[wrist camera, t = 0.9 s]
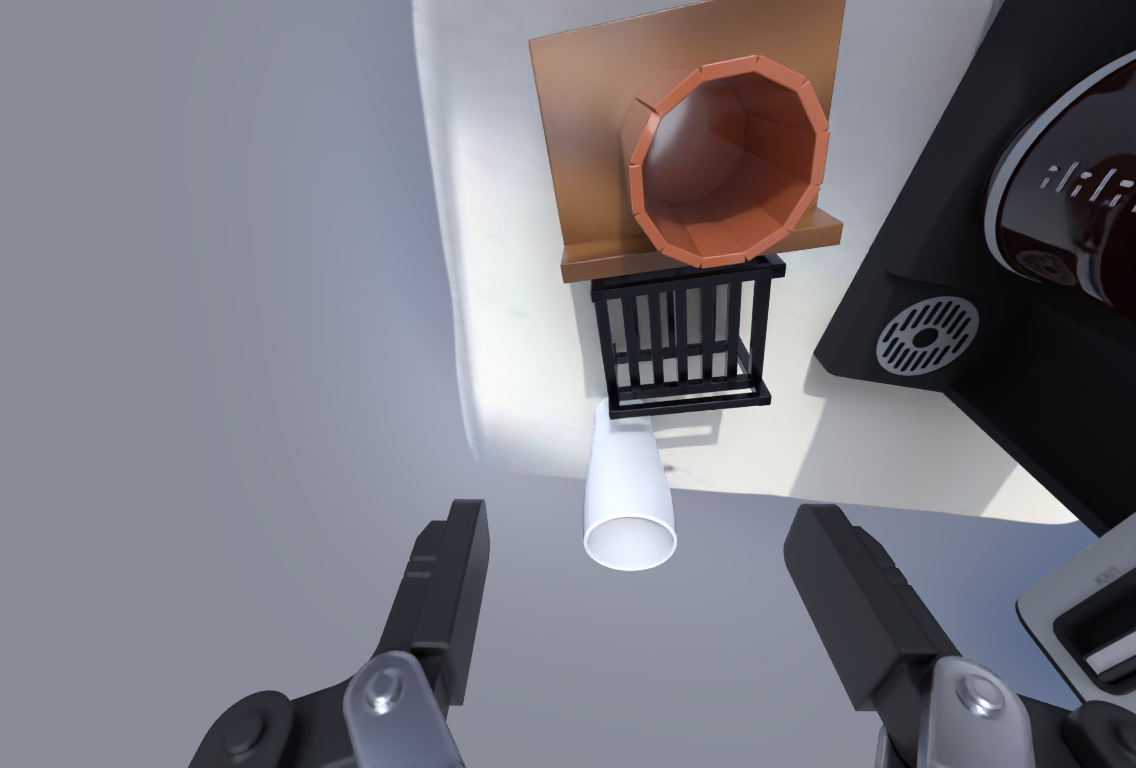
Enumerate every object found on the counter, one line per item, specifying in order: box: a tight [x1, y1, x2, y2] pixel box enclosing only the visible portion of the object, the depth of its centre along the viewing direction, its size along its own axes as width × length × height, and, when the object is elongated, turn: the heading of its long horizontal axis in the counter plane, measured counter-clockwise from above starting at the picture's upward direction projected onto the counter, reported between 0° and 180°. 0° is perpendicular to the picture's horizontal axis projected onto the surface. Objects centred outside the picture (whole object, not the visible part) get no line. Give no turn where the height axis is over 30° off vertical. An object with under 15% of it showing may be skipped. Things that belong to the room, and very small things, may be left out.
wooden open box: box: [528, 0, 846, 283], centre depth 24 cm, size 10×13×13 cm
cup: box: [620, 55, 830, 268], centre depth 17 cm, size 6×6×8 cm
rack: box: [590, 254, 786, 420], centre depth 32 cm, size 10×11×10 cm
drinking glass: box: [583, 396, 677, 571], centre depth 37 cm, size 7×7×15 cm
